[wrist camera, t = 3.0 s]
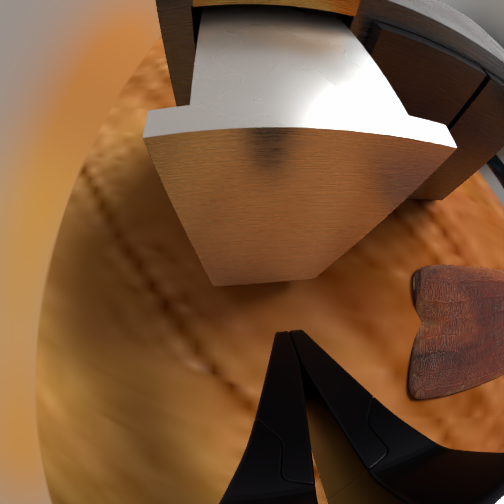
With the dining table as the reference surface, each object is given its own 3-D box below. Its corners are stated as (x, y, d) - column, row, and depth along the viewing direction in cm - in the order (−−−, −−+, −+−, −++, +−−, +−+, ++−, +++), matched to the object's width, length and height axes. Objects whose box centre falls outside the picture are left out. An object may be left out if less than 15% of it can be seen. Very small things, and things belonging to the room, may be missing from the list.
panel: (314, 278, 15) (457, 148, 4) (213, 286, 15) (142, 138, 3) (294, 161, 17) (340, -4, 6) (209, 164, 17) (187, -10, 6)
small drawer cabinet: (439, 206, 19) (552, 103, 5) (200, 213, 17) (146, -18, 4) (406, 126, 21) (474, 18, 7) (202, 117, 20) (184, -50, 6)
